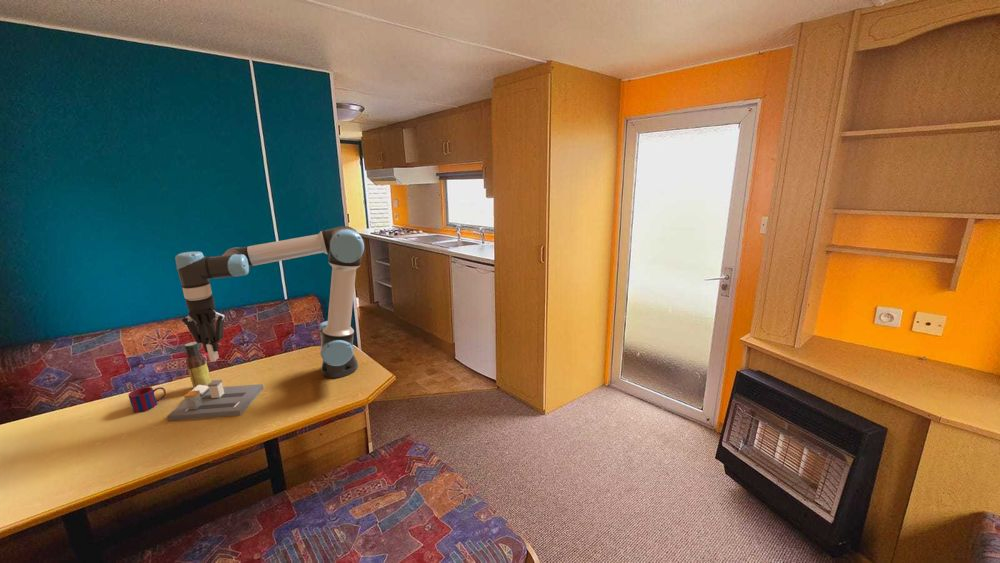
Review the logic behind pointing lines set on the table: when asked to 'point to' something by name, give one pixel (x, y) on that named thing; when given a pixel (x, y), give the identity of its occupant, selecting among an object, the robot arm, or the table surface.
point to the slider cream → (216, 388)
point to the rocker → (201, 388)
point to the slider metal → (193, 400)
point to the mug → (144, 399)
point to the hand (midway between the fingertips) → (214, 359)
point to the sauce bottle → (197, 365)
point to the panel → (219, 403)
